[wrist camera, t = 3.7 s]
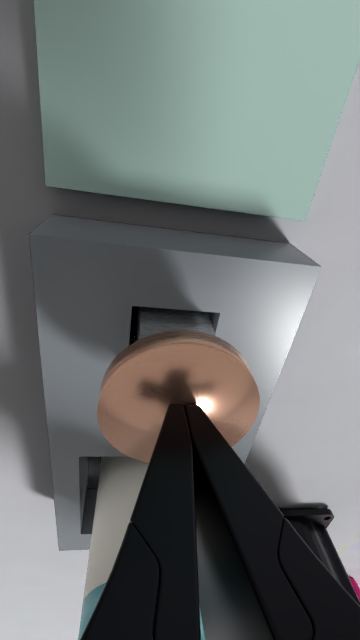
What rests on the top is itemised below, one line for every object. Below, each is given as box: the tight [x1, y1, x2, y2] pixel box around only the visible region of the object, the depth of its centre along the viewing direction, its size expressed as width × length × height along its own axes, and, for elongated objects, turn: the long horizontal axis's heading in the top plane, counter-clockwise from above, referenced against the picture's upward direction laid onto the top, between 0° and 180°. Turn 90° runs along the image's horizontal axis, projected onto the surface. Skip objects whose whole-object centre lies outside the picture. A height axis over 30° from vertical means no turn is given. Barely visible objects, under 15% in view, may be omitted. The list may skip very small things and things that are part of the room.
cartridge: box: [78, 457, 205, 640], centre depth 15 cm, size 5×5×8 cm
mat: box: [34, 0, 360, 221], centre depth 9 cm, size 9×8×1 cm
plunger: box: [97, 306, 260, 463], centre depth 11 cm, size 4×4×6 cm
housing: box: [29, 215, 321, 551], centre depth 15 cm, size 9×18×2 cm, turn 172°
